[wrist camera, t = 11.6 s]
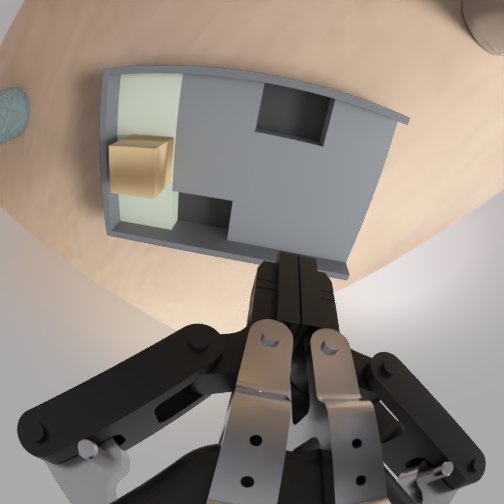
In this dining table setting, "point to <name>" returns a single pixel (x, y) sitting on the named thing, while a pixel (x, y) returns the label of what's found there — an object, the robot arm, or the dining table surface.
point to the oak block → (141, 165)
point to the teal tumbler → (13, 113)
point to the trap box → (246, 162)
